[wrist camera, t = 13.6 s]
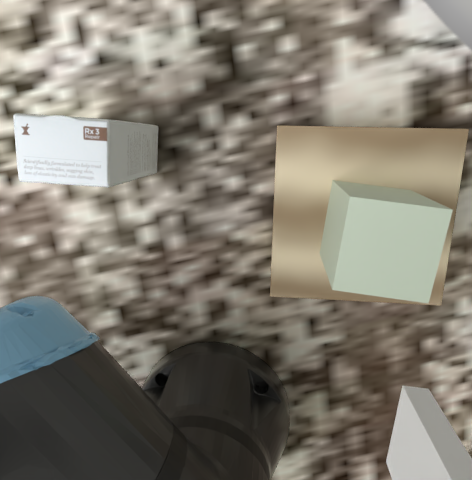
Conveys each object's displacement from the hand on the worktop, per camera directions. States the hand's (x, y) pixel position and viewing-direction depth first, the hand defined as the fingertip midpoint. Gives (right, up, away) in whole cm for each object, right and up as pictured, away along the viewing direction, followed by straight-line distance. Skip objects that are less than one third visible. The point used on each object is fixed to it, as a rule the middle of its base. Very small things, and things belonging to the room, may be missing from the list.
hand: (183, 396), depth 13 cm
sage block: (+12, +6, +20) cm, 24 cm away
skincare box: (-8, +13, +24) cm, 29 cm away
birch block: (+12, +8, +24) cm, 28 cm away
